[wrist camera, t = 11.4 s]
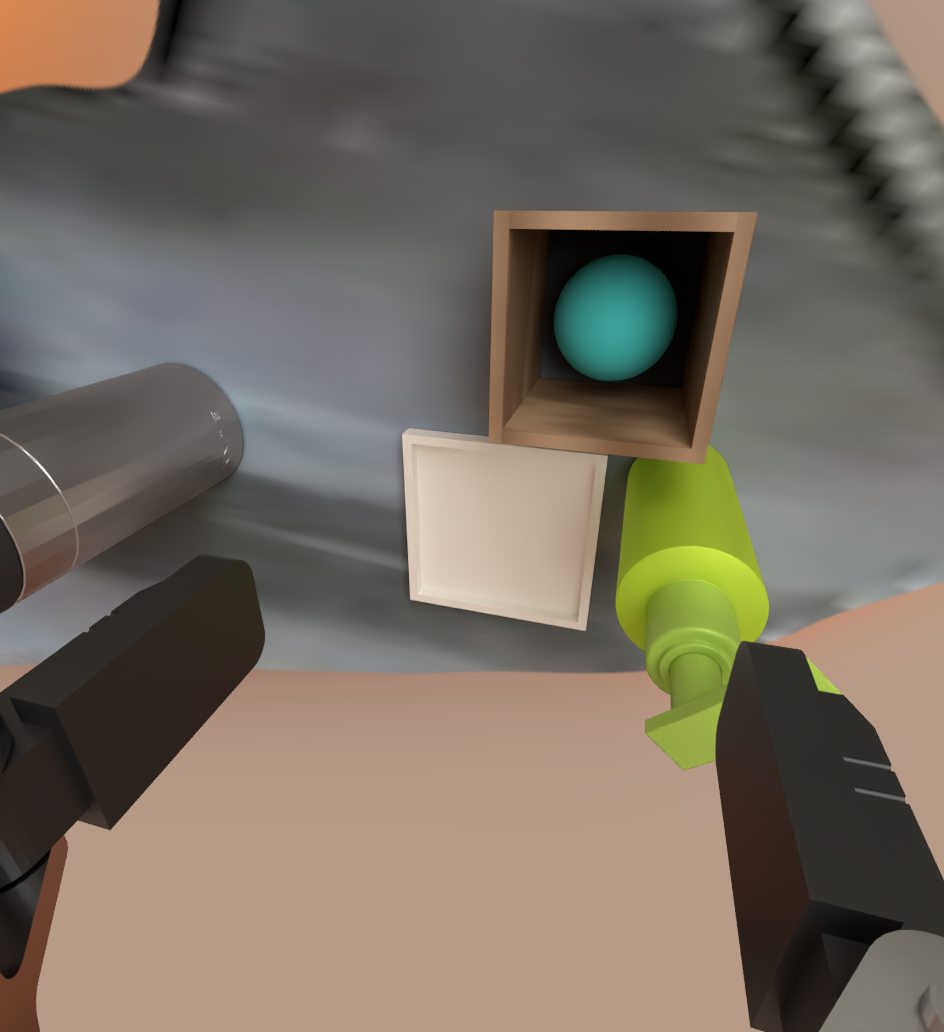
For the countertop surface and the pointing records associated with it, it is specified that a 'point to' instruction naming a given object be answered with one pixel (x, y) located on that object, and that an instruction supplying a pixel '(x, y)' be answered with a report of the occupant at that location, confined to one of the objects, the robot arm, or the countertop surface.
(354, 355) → the countertop surface
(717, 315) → the box
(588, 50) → the countertop surface
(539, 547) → the dish
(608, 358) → the ball
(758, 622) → the soap dispenser
